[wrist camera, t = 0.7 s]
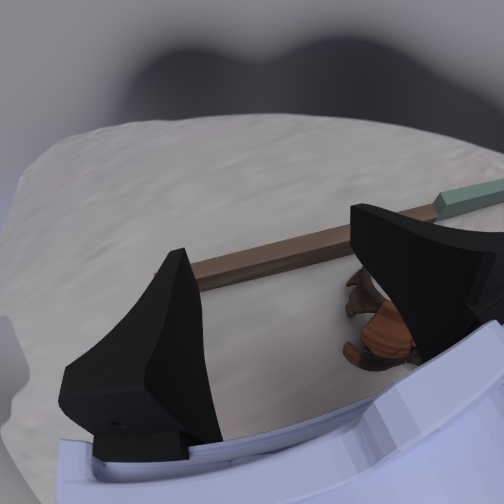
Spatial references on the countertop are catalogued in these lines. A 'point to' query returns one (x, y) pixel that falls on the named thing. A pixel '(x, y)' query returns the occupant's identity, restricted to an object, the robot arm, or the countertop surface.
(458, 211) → the frame
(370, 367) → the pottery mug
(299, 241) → the brown wooden frame
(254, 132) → the countertop surface
